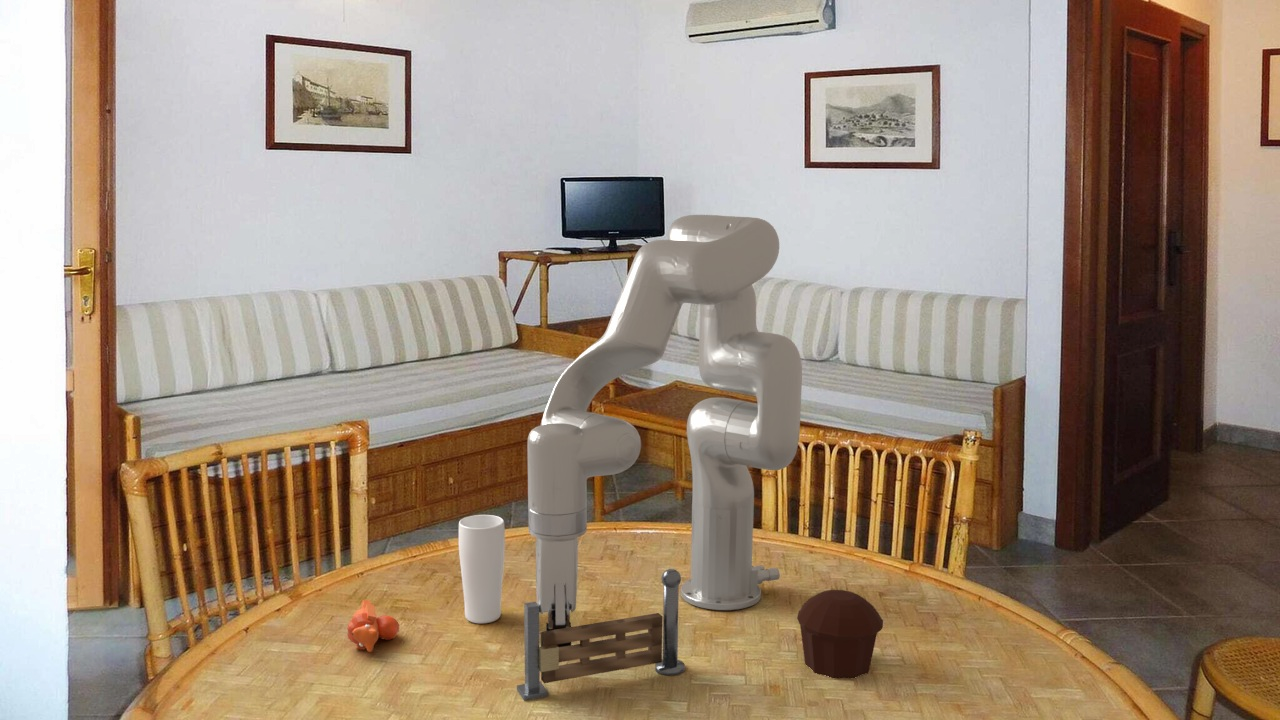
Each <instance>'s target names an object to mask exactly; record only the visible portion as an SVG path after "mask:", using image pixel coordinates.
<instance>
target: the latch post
mask: <svg viewBox="0 0 1280 720" xmlns="http://www.w3.org/2000/svg"><path fill="white" fill-rule="evenodd" d="M523 606H524V608H523V609H524V610H523V611H524V612H523V613H524V616H523V617H524V618H523V619H524V620H523V621H524V626H523V627H524V683H523V684H517V685H516V691H517V693H518V694H519V695H520V697H521V699H522V700H523V701H529V700H534V699H541V698H546V697H549V691H548V689H547V688H546V687H545V686H544V683H542V680H541V672H545V671H551V670H557V669H559V665H560V662H559V647H558V646H557V645H551V646H545V647H541V646H540V613H539V605H538V604H537V601H530V602H524V603H523ZM540 680H541V681H540Z"/></svg>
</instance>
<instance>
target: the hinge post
mask: <svg viewBox="0 0 1280 720" xmlns="http://www.w3.org/2000/svg"><path fill="white" fill-rule="evenodd" d="M681 582H682V577H681V573H680V572H679V570H676V569H675V568H668V569H666V570H664V571H663V572H662V575H661V583H662V585H663V599H662V600H663V601H662V602H663V605H662V606H663V609H662V611H663V612H662V613H663V614H662V662H661V663H655V664H654V670H655V672H656V673H658V674H659V675H662V676H667V677H668V676H670V677H672V676H673V677H675V676H678V675H681V674H684V672H685V670H686V666H685V665H686V664H685V663H684V662H683V661H682V660H680V659H678V651H679V649H678V648H679V647H678V646H679V645H678V644H679V642H678V641H679V599H680V598H679V591H680V590H679V587H680V584H681Z"/></svg>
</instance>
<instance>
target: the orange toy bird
mask: <svg viewBox="0 0 1280 720" xmlns="http://www.w3.org/2000/svg"><path fill="white" fill-rule="evenodd" d="M346 627H347V633H346V634H347V638H348V639H349V641H350V642H351V643H353V644H355V645H356V649H358V650H363V651H364V650H366V651H367V652H369V653H372V652H373V650H374V646H375V644H376V643H377V641H378V639H379V638H380V639H382V640H384V639H385V640H386V641H389V640H392V639H394V638H396V636H397V635H398V634H399V632H400V624H399V622H398V620H397V619H396V618H395V617H393V616H390V615H387V614H386V615H379V616H377V614H376V608H375V605H374V604H372V602H371V600H366V599H363V600H362V602H361V606H360V608H359V609H357V610H356V611H355V612H354V614H353V616H352V618H351V620H350V622H348V624H347V626H346Z"/></svg>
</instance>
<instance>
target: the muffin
mask: <svg viewBox="0 0 1280 720" xmlns="http://www.w3.org/2000/svg"><path fill="white" fill-rule="evenodd" d="M796 618H797V620H798V621H797V623H798V624H799V626H800V634H801V641H802V643H801V644H802V649H803V656H804V657H803V658H804V665H805V664H806V665H807V666H806V665H805V666H806V667H808V668H809V667H810V668H811V669H812V670H813V671H812V670H811V669H810V668H809V669H810V670H811V671H812V672H813V673H814V674H816V673H817V675H820V674H822V675H821V676H824V675H826V676H825V677H827V676H829V677H828V678H830V677H831V679H833V678H837V679H851V678H855V677H857V678H858V676H859V677H861V676H863V675H862V674H864V675H866V674H865V673H867V674H869V673H868V672H869V671H870V667H871V663H872V659H873V655H874V649H875V645H876V639H877V636H878V635H877V634H878V633H879V632H880V631H881V630H882V629H883V628H884V627H883V626H884V620H883V619H882V617H881V615H880V613H879V612H878V611H877V609H876V608H875V606H874V605H872V604H871V603H870V602H869V601H868V600H867V599H866V598H864V597H862V596H861V595H859V594H857V593H855V592H852V591H848V590H844V589H828V590H823V591H822V592H819V593H816V594H815V595H813V596H811V597H810V598H808V599H806V601H805V602H804V603H803V605H802V606H801V608H800V609H799V610H798V613H797V617H796ZM860 675H861V676H860ZM855 679H856V678H855Z"/></svg>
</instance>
